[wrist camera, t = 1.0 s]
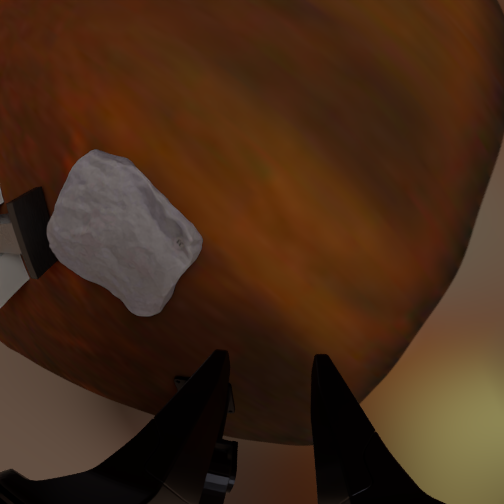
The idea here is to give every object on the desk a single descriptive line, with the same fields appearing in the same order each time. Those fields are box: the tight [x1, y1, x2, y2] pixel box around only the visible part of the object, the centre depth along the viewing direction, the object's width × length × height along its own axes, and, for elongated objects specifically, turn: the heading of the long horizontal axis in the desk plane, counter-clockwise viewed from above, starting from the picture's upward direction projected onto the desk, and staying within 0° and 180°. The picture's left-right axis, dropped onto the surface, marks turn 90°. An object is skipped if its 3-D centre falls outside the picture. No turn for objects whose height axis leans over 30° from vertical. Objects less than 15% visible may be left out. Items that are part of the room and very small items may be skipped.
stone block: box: [47, 149, 203, 316], centre depth 20 cm, size 12×5×10 cm
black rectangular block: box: [0, 186, 58, 279], centre depth 19 cm, size 7×9×5 cm
